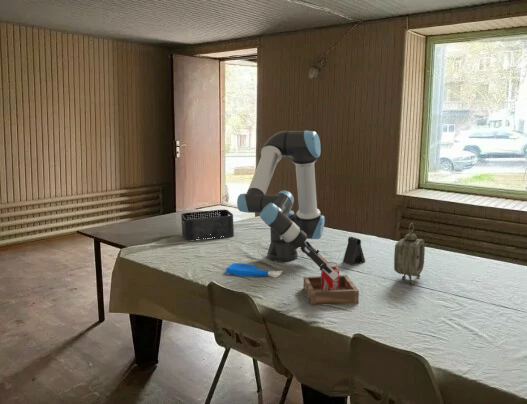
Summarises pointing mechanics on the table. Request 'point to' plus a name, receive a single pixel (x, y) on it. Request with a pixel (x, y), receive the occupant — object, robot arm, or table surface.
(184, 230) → the storage bin
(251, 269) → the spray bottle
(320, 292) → the box
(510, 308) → the table surface
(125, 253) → the table surface
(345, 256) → the door stopper
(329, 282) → the soda can
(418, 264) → the tabletop clock
